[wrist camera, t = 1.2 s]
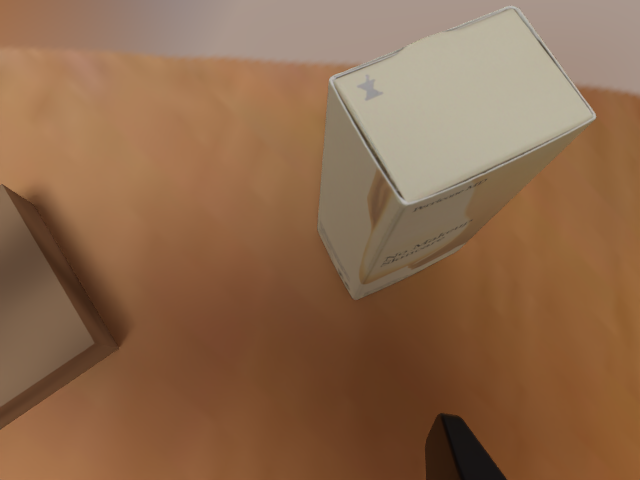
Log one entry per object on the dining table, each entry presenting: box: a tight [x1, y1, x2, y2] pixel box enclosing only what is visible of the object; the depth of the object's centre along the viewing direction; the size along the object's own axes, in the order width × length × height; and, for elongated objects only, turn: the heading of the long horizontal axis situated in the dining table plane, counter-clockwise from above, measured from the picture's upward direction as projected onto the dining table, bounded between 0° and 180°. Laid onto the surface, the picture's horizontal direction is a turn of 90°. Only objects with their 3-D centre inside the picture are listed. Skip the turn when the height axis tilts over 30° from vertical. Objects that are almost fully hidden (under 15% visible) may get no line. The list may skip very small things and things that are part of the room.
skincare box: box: [317, 6, 596, 300], centre depth 18 cm, size 6×4×12 cm
